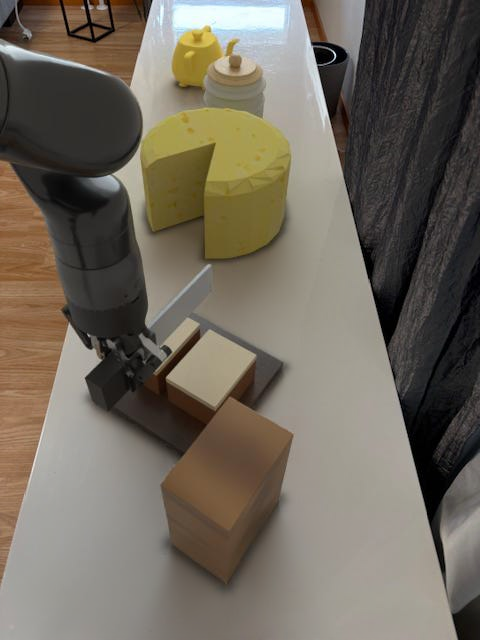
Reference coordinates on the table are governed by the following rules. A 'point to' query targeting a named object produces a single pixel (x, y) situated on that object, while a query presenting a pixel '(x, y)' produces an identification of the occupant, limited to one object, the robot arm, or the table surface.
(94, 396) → the knife
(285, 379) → the table surface
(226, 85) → the jar
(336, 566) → the table surface
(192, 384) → the cream-faced brown block
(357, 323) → the table surface
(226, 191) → the cheese
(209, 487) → the stand
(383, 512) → the table surface
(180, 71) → the teapot
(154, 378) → the slice
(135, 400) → the board
